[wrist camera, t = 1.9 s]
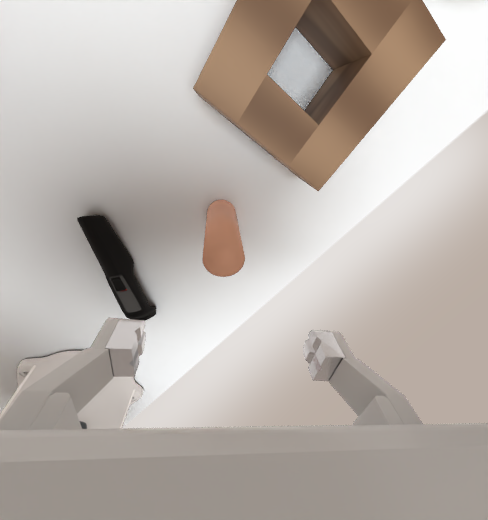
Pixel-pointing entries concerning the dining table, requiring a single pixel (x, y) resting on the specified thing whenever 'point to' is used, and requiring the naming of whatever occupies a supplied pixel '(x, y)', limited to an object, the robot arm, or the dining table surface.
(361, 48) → the socket block
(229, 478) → the robot arm
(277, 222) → the dining table surface
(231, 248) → the peg
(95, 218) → the electric trimmer
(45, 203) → the dining table surface
